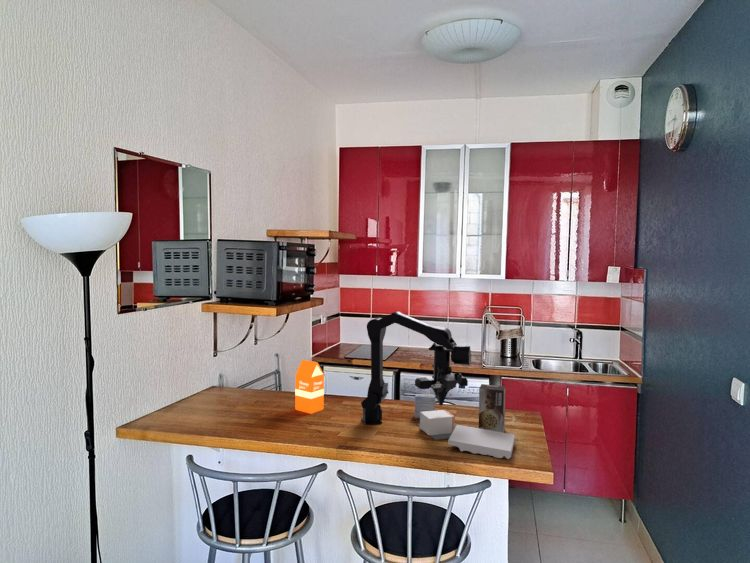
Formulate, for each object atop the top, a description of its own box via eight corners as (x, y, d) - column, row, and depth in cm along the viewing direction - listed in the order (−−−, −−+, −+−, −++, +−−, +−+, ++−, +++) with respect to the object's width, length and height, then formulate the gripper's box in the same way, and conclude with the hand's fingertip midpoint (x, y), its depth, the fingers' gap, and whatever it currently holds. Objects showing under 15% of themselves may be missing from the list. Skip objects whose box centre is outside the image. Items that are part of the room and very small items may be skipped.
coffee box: (504, 428, 190) (506, 385, 189) (503, 434, 184) (504, 390, 183) (479, 425, 193) (481, 383, 192) (477, 431, 187) (479, 387, 186)
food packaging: (514, 444, 176) (456, 433, 182) (514, 434, 175) (457, 424, 182) (510, 461, 161) (447, 449, 168) (510, 451, 161) (448, 440, 168)
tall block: (429, 418, 181) (454, 416, 184) (420, 411, 188) (444, 409, 191) (428, 435, 181) (454, 432, 184) (419, 427, 189) (444, 425, 192)
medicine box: (434, 415, 204) (435, 394, 203) (434, 419, 200) (435, 397, 199) (414, 414, 205) (415, 393, 204) (414, 418, 200) (415, 396, 200)
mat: (435, 440, 177) (435, 439, 177) (417, 424, 193) (417, 424, 193) (471, 436, 182) (471, 435, 182) (450, 421, 197) (450, 421, 197)
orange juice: (308, 405, 215) (308, 358, 214) (323, 409, 210) (324, 361, 208) (294, 409, 208) (295, 361, 207) (310, 413, 203) (311, 364, 202)
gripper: (427, 369, 175) (426, 414, 175) (475, 366, 180) (474, 409, 181) (414, 362, 185) (413, 404, 186) (460, 359, 191) (459, 401, 192)
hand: (440, 405), depth 186 cm, fingers closed
